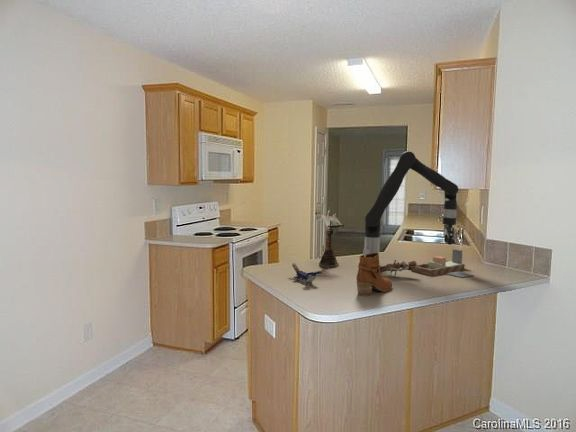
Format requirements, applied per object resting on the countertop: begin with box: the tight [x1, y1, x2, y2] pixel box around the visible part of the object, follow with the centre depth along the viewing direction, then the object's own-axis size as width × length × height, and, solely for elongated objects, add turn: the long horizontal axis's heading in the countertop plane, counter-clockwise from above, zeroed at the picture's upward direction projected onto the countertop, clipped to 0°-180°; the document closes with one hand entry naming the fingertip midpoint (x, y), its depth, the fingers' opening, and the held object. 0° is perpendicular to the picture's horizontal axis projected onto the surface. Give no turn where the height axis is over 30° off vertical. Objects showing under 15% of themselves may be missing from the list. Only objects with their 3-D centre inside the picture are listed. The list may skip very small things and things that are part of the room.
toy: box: [291, 262, 322, 284], centre depth 212 cm, size 10×23×10 cm, turn 27°
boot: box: [356, 253, 393, 297], centre depth 193 cm, size 24×9×19 cm, turn 124°
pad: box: [446, 271, 474, 279], centre depth 226 cm, size 10×10×1 cm
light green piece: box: [427, 248, 466, 269], centre depth 241 cm, size 22×9×9 cm, turn 121°
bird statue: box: [318, 209, 345, 269], centre depth 245 cm, size 17×13×35 cm
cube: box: [432, 255, 447, 266], centre depth 238 cm, size 5×5×5 cm
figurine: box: [380, 259, 418, 279], centre depth 222 cm, size 10×10×28 cm
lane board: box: [410, 260, 466, 277], centre depth 238 cm, size 30×14×3 cm, turn 121°
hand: (447, 243), depth 243 cm, fingers open, 8 cm apart
